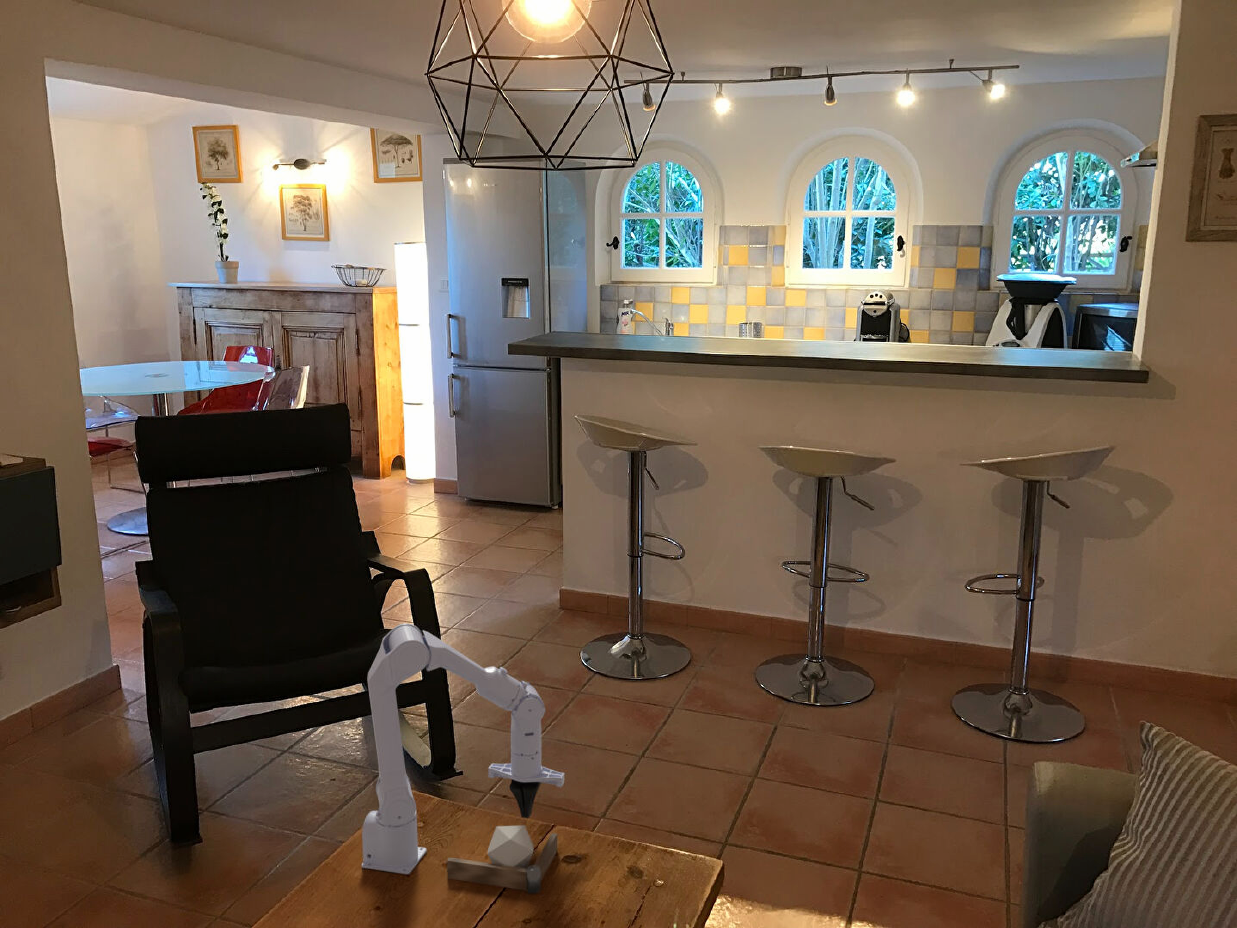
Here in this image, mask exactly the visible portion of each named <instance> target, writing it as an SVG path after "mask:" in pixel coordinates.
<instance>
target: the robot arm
mask: <svg viewBox="0 0 1237 928" xmlns="http://www.w3.org/2000/svg"><path fill="white" fill-rule="evenodd" d="M422 632H423V633H422ZM439 668H442V669H444V670H447V671H449V672H450V673H452V674H454V675H456V676H458V677H460V678H462V679H464V680H466V681H468V682H470V683H472V684H474V685H475V689H476V690H475V691H476V693H477V695H479V696H480V697H482V698H484V699H486V700H487V701H489V702H491V703H492V704H494V705H496V706H497V707H500V708H501V709H503V710H505V711H509V712H510V714H511V715H510V717H511V718H510V719H511V724H510V763H491V764H490V765H489V766H488V778H492V779H495V778H497V777H498V778H504V779H510V780H511V782H510V784H509V791H510V792H511V793H512V795H513V796H514V799H515V800H516V802H517V806H518V808H519V811H520V812H519V813H520V817H521V818H525V819H529V818H530V817H531V815H532V811H533V805H534V802H535V798H536V795H537V793H538V791H539V789H540V786H541V784H549V785H554V786H556V787H557V788H562V787H563V785H564V784H565V772H562V771H561V772H559V771H556V770H553V769H550V768H547V767H546V766H542V723H541V722H542V718H543V717H544V715H545V713H546V707H545V704H544V701H543V700H542V698H541V696H540V694H539V693H538V691H537V690H536V688H535V687H534V686H533V685H531V683H530V682H526V681H524V680H521V681H519V680H518V679H516V678H514V677H513V676H511V675H509V674H508V670H507V669H506V668H504V667H502V666H500V667H499V668H497V667H496V666H494V665H493V666H488V667H483V666H481V665H479V664H478V663H476V662H475V661H474V660H472V659H471V658H469V657H467V656H466V655H465V654H463V653H462V652H459V651H458V650H457V649H456V648H453V646H451V645H449V644H448V643H446V642H444V641H443V640H441V639H440V638H438V637H437V636H436V635H433V634H432V633H430V632H429V631H426V630H423V629H422V631H421V630H420V628H419V627H417V626H416V625H414V624H412V623H401V624H398V625H396V626H395V627H393V628H392V629H391V630H390V631H389V632H388V633H387V634H386V635H385V636H384V637H383V638H382V641H381V644H380V648H379V650H378V652H377V653H376V656H375V658H374V660H373V663H372V665H371V667H370V668H369V670H368V672H367V678H366V679H367V687H368V693H369V695H368V696H369V702H370V710H371V716H372V718H371V719H372V725H373V731H374V739H375V747H376V755H377V763H378V780H377V782H376V784H375V793H376V795H377V798H378V799H377V800H378V804H379V807H378V808H377V810H370V811H369V812H368V814H367V815H366V817H365V819H364V821H363V825H362V828H361V829H362V831H361V833H362V834H361V837H362V841H361V842H362V859H363V862H362V863H361V868H363V869H371V870H377V871H384V872H389V873H395V874H403V875H410V873H412V871H414V868H415V867H416V866H417V864H418V863H419V862H420V861H421V859H422V858H423V857H424V855H425V854H426V853H427V851H428V850H427V848H426V847H419V843H418V840H419V839H418V821H417V817H418V816H417V803H416V800H415V799H414V795H413V792H412V787H411V786H412V785H411V780H410V778H409V776H408V774H407V773H406V766H405V757H404V748H403V742H402V731H401V726H400V717H399V711H398V703H397V701H398V700H397V694H396V693H397V692H396V689H397V687H398V686H399V685H401V684H402V682H404V681H407V680H408V679H410V678H411V677H413V676H414V675H416V674H419V673H420V672H421V671H422V670H424V669H426V671H427V672H430V671H433V670H436V669H439Z"/></svg>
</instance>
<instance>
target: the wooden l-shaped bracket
mask: <svg viewBox="0 0 1237 928" xmlns="http://www.w3.org/2000/svg"><path fill="white" fill-rule="evenodd" d="M557 852H558V833H554V832H551V834H550V836H549V837H548V840H547V841H546V843H545V844H544V846H543V848H542V851H541V852H540V854H539V855H538V857H537V859H536V860H535V862H534V864H532V865H528V867H527V869H524V868H517V867H510V866H504V865H497V864H492V863H488V862H484V861H483V862H482V861H476V860H468V859H462V858H455V857H448V859H447V860H446V876H447V879H448V880H449V879H450V880H456V881H457V880H458V881H462V882H463V881H464V882H469V883H470V882H471V883H476V884H482V885H489V886H495V887H503V888H509V889H514V890H515V889H516V890H520V891H522V890H523V891H526V892H527V893H528V894H530V895H535V894H538V893H540V891H541V882H542V880H543V879H544V876H545V875H546V873H547V871H548V869H549V867H550V866H551V863H552V862H553V860H554V858H555V856H556V853H557Z"/></svg>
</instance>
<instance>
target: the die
mask: <svg viewBox="0 0 1237 928" xmlns="http://www.w3.org/2000/svg"><path fill="white" fill-rule="evenodd" d="M533 854H534V843H533V841H532V839H531V837H530V834H529V833H528V830H527V828H526V825H524V824H521V825H520V824H519V825H501V826H500V825H499V826H495V830H494V832H493V834H492V838H491V840H490V842H489V846H488V848H487V856H488V858H489V860H490V862H491V863H490V864H497V865H504V866H510V867H517V868H524V869H527V867H528V866H529V864H530V861H531V859H532V856H533Z"/></svg>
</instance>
